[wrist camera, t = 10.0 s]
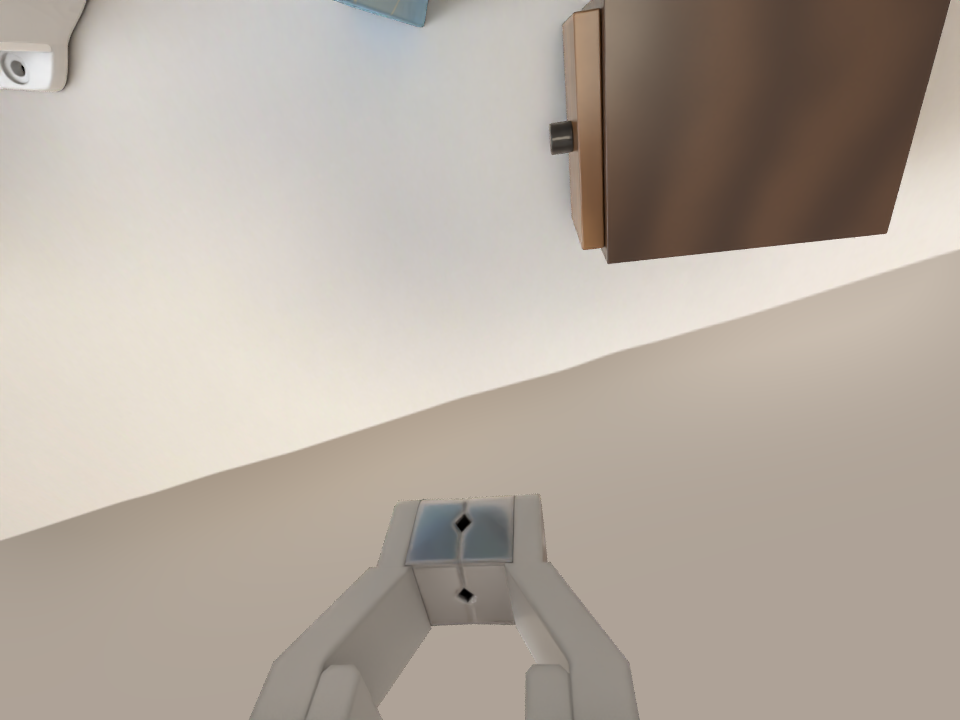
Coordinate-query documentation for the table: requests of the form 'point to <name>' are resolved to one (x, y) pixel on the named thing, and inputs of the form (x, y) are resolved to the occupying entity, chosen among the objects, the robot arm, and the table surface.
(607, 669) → the robot arm
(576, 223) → the wooden drawer
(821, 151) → the cabinet
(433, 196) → the table surface
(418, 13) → the gum box
